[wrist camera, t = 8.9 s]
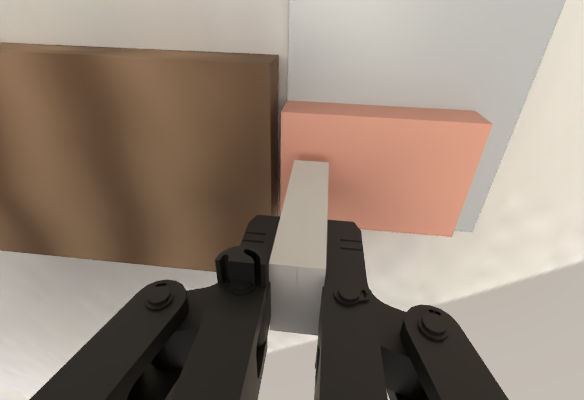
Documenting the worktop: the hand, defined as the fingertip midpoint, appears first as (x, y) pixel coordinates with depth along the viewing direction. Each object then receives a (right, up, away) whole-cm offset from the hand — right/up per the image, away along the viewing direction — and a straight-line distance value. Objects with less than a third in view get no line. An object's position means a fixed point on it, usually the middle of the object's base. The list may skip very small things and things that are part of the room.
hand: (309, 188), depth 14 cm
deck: (-11, +2, +5) cm, 12 cm away
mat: (+4, +3, +2) cm, 6 cm away
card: (+3, +1, +3) cm, 5 cm away
